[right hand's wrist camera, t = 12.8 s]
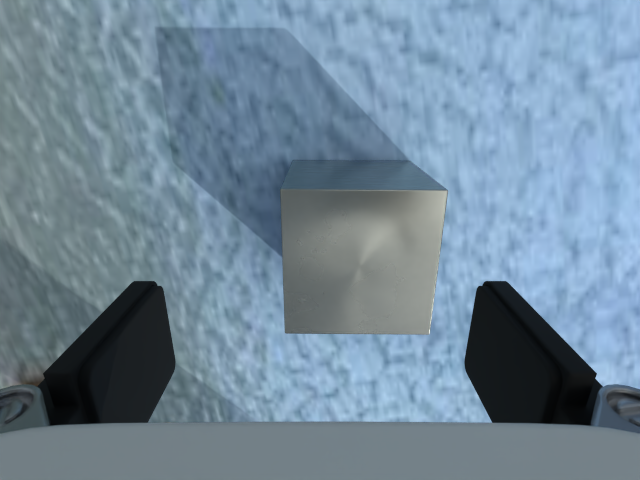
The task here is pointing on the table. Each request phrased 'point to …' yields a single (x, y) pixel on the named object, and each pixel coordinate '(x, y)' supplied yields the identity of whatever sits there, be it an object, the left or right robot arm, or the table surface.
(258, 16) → the table surface
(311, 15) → the table surface
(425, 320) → the block
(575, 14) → the table surface
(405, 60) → the table surface
